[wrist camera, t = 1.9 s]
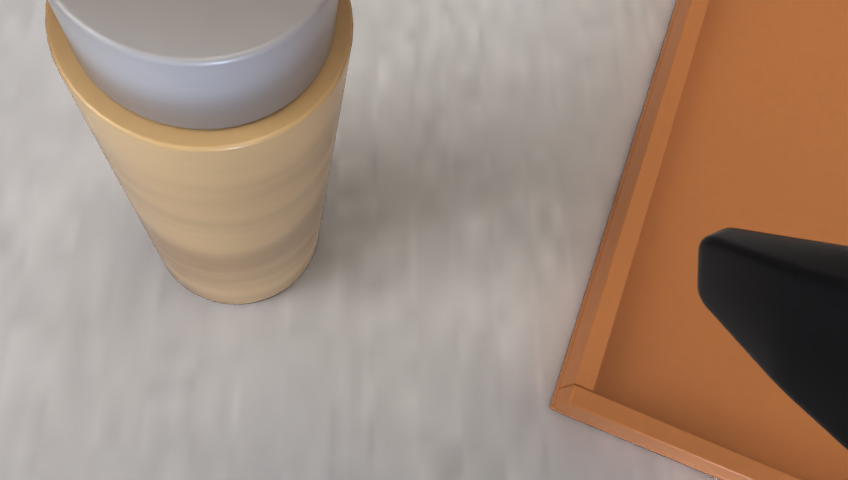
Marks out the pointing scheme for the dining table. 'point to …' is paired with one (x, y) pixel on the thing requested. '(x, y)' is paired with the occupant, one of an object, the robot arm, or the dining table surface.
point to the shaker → (213, 126)
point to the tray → (708, 213)
